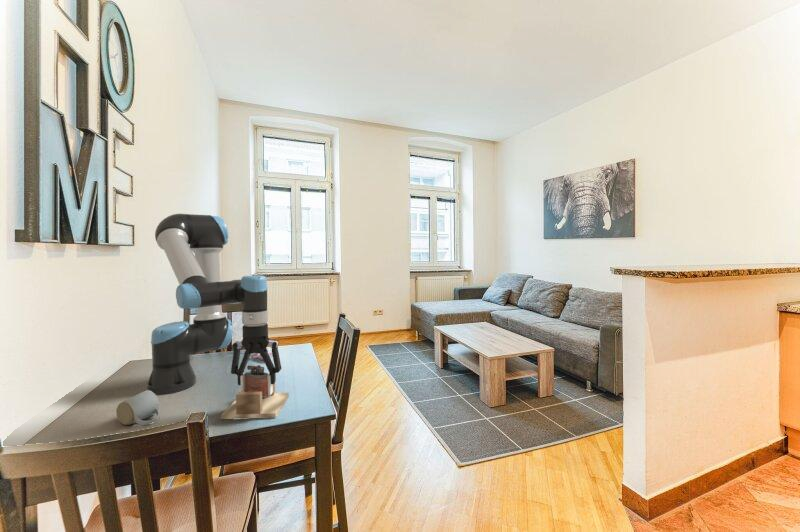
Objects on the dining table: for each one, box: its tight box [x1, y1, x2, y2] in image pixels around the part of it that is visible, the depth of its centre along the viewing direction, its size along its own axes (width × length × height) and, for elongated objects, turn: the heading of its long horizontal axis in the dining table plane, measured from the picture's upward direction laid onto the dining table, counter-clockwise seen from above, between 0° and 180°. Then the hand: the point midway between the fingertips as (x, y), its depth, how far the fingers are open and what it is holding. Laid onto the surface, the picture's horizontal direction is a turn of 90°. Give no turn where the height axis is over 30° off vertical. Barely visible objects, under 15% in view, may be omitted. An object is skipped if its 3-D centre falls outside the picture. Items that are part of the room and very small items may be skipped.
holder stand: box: [220, 378, 290, 420], centre depth 111 cm, size 16×15×8 cm
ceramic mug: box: [115, 389, 160, 426], centre depth 103 cm, size 11×8×8 cm
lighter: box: [244, 364, 269, 399], centre depth 110 cm, size 8×3×10 cm, turn 71°
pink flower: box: [250, 352, 273, 361], centre depth 159 cm, size 6×6×15 cm
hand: (257, 394), depth 111 cm, fingers closed on lighter, 8 cm apart
